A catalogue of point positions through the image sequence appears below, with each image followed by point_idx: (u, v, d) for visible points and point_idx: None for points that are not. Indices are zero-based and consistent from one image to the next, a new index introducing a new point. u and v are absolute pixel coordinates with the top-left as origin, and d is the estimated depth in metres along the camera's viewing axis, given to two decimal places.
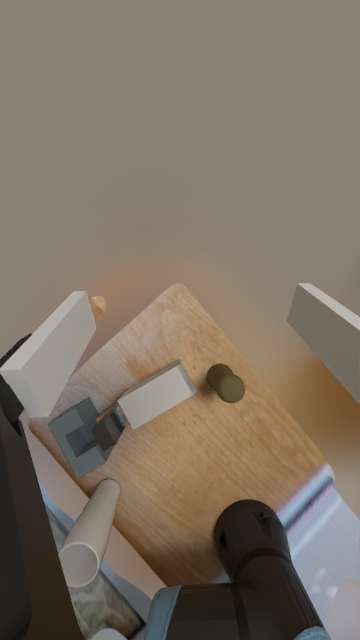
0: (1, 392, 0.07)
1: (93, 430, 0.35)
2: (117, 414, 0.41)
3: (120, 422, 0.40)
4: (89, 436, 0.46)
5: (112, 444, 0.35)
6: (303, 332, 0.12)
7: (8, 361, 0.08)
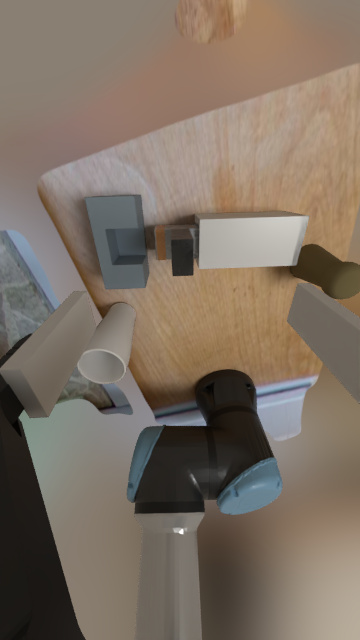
0: (1, 392, 0.07)
1: (173, 241, 0.22)
2: None
3: None
4: (125, 249, 0.34)
5: (189, 273, 0.24)
6: (303, 332, 0.12)
7: (8, 361, 0.08)
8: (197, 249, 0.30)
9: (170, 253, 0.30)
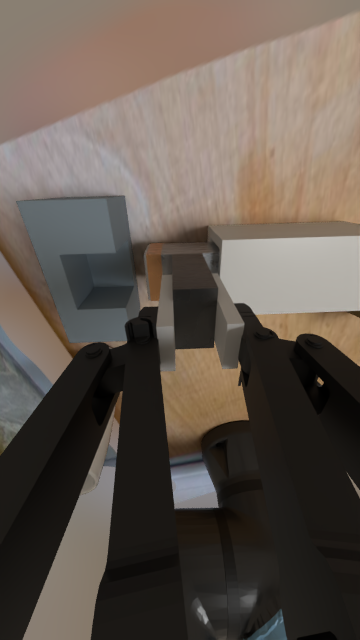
0: (157, 344, 0.09)
1: (178, 292, 0.11)
2: None
3: None
4: (102, 277, 0.22)
5: (206, 344, 0.13)
6: None
7: (158, 321, 0.10)
8: None
9: None
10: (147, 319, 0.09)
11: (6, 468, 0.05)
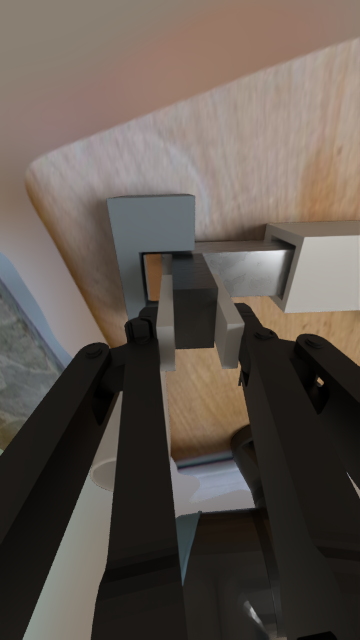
0: (157, 344, 0.09)
1: (178, 292, 0.11)
2: None
3: None
4: None
5: (206, 344, 0.13)
6: None
7: (158, 321, 0.10)
8: None
9: None
10: (147, 319, 0.09)
11: (6, 468, 0.05)
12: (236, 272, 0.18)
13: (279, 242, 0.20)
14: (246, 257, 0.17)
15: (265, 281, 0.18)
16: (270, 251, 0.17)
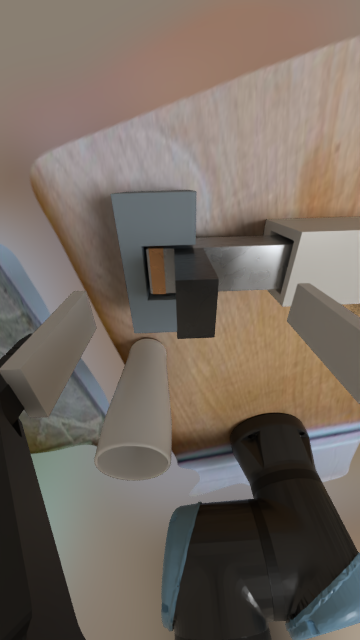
0: (1, 392, 0.07)
1: (180, 283, 0.12)
2: None
3: None
4: None
5: (207, 334, 0.14)
6: (303, 332, 0.12)
7: (8, 361, 0.08)
8: None
9: (172, 284, 0.19)
10: None
11: None
12: (236, 266, 0.18)
13: (278, 237, 0.20)
14: (246, 251, 0.18)
15: (264, 275, 0.19)
16: (269, 246, 0.18)
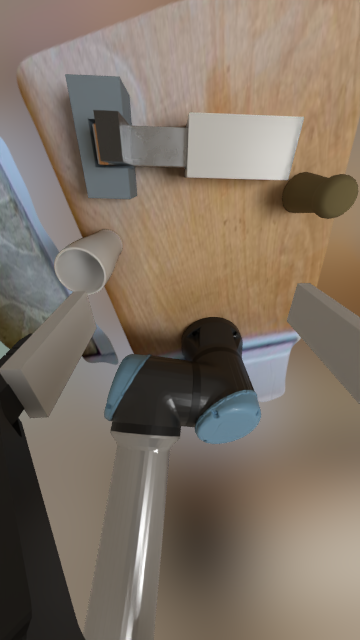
0: (1, 392, 0.07)
1: (96, 112, 0.21)
2: (129, 136, 0.26)
3: (130, 150, 0.27)
4: None
5: (118, 158, 0.23)
6: (303, 332, 0.12)
7: (8, 361, 0.08)
8: (141, 153, 0.28)
9: None
10: None
11: None
12: (154, 144, 0.28)
13: None
14: (159, 131, 0.27)
15: (174, 153, 0.28)
16: (174, 128, 0.27)
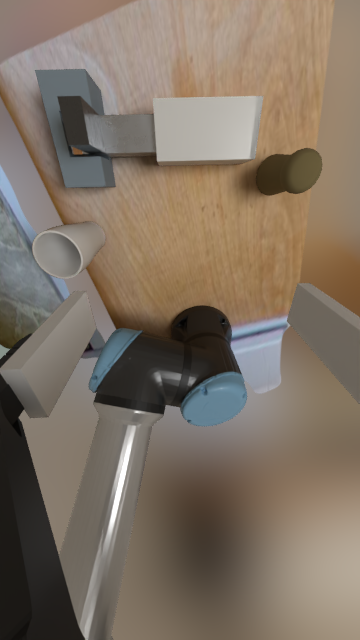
0: (1, 392, 0.07)
1: (60, 99, 0.22)
2: (98, 124, 0.28)
3: (100, 138, 0.28)
4: None
5: (84, 141, 0.24)
6: (303, 332, 0.12)
7: (8, 361, 0.08)
8: (112, 141, 0.30)
9: None
10: None
11: None
12: (124, 131, 0.29)
13: None
14: (127, 119, 0.28)
15: (144, 140, 0.30)
16: (141, 115, 0.28)
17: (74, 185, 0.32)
